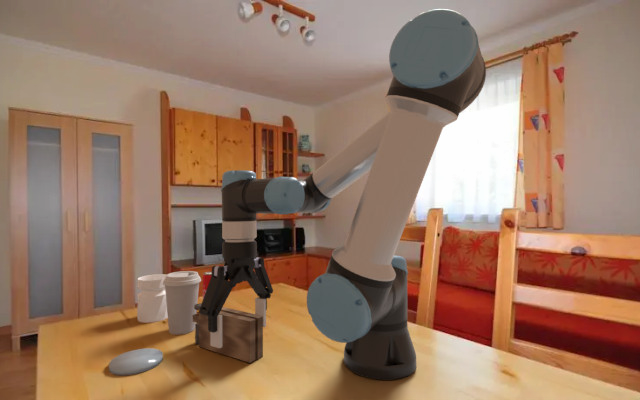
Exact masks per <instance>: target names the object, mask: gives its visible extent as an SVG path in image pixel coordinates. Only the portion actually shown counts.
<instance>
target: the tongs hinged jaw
mask: <svg viewBox="0 0 640 400" xmlns="http://www.w3.org/2000/svg"><path fill="white" fill-rule="evenodd" d="M206 309H207V308H206ZM199 310H200V309H199ZM199 310H198V311H199ZM219 315H222V348H216V347H213V346H210V332H209V330H208V316H207V315H202V314H200V313H199V312H198V313H197V314H194V315H193V322H196V323H199V345H198V347H200V348H202V349H205V350H209V351H211V352H215V353H218V354H221V355H224V356H228V357H231V358H234V359H237V360H240V361H243V362H246V363H249V364H250V363H251V364H252V362H254V361H256V359H255V319H252V318H248V317H243V316H239V315H235V314H230V313H226V312H222V311H220V313H219Z"/></svg>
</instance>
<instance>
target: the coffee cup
mask: <svg viewBox="0 0 640 400" xmlns="http://www.w3.org/2000/svg"><path fill="white" fill-rule="evenodd" d="M201 281H202V278H201V276H200V275H199V272H198V271H193V270H185V271H184V270H182V271H174V272H170V273H167V275H166V278H165V279H164V281H163V285H165V292H166V303H167V314H168V318H167V323H168V333H169V334H171V335H176V336H178V335H179V336H180V335H186V334H190V333H192V332H195V324H196V322H193V315H194V314H198V313H197V311H198V310H195V309H194V305H196V304H198V303H199V302H198V301H199V300H198V299H199V290H200V289H199V288H200V283H201Z"/></svg>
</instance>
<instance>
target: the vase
mask: <svg viewBox="0 0 640 400" xmlns="http://www.w3.org/2000/svg"><path fill="white" fill-rule="evenodd" d="M167 274H168V273H167ZM167 274H162V273H157V274H155V273H154V274H148V275H146V274H145V275H143V276H140V277H138V278H137V285H136V286H137V287H136V288H137V289H139V290H140V292H139V293H137V294H136V297H137V308H136V316H137V317H136V318H137V321H138V322H140V323H147V324H149V323H156V322H160V321H164V320H166V319H168V314H167V303H166V292H165V285H163V281H164V279H165V278H166V275H167Z"/></svg>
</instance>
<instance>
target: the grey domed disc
mask: <svg viewBox="0 0 640 400" xmlns="http://www.w3.org/2000/svg"><path fill="white" fill-rule="evenodd" d="M163 354H164V353H163V351H161V350H160V349H157V348H152V347H151V348H146V347H145V348H140V349H139V348H138V349H133V350H130V351H126V352H123V353H121V354H118V355H117V356H115V357H114V358H112V359H111V360H110V361H109V363H108V371H109V372H110V374H113V375H116V376H131V375H138V374H142V373H145V372H148V371H150V370H153V369H154V368H156V367H158V366H159V365H160V364H161V363H162V362H163V359H164V355H163Z"/></svg>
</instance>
